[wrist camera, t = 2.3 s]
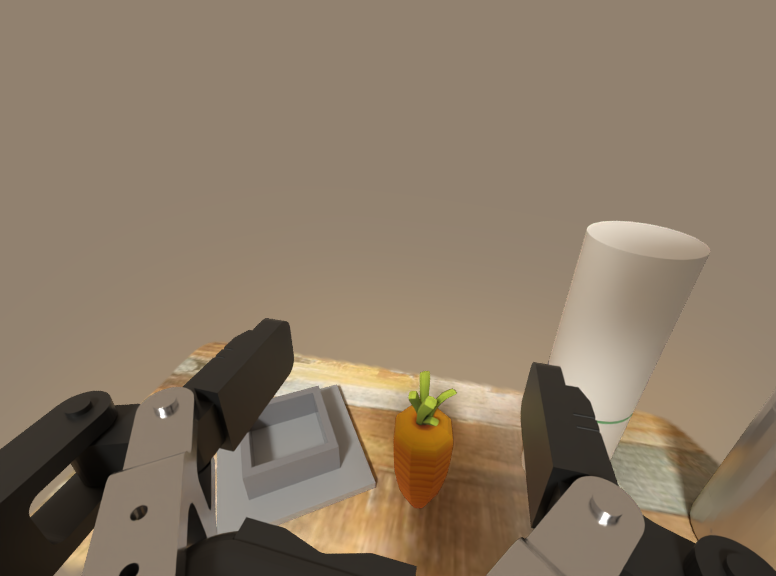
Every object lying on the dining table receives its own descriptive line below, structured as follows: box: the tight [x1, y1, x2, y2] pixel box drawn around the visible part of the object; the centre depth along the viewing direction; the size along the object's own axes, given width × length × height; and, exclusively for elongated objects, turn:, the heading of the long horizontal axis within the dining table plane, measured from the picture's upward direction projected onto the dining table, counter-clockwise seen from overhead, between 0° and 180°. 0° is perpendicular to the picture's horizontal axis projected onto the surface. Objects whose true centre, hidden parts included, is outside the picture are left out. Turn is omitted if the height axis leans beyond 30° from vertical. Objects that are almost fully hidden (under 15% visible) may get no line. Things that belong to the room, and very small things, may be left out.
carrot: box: [394, 371, 457, 508], centre depth 30 cm, size 5×5×15 cm
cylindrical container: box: [521, 221, 710, 473], centre depth 31 cm, size 7×7×25 cm
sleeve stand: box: [217, 385, 376, 534], centre depth 37 cm, size 14×14×4 cm
